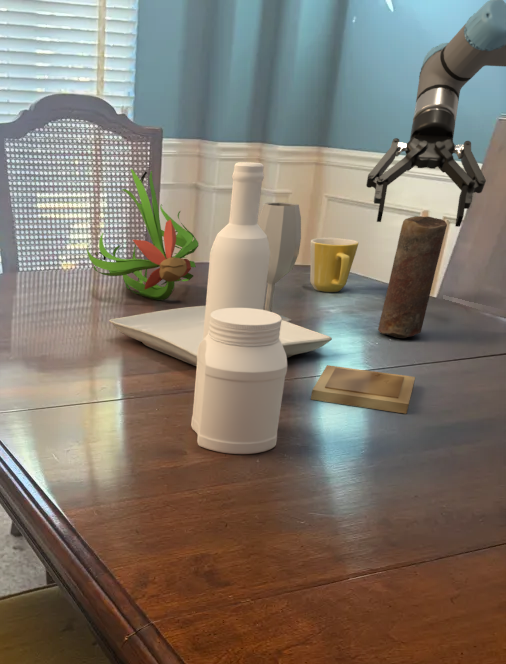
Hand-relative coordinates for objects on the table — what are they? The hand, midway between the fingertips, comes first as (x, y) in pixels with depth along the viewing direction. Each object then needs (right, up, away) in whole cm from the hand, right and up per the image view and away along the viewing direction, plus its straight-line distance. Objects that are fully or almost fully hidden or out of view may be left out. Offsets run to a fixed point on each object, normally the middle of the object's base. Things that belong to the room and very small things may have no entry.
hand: (419, 219), depth 139 cm
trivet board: (-19, -36, -27) cm, 49 cm away
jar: (-41, -45, -42) cm, 74 cm away
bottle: (-40, -37, -28) cm, 61 cm away
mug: (-6, -2, +34) cm, 35 cm away
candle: (-3, -21, +2) cm, 21 cm away
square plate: (-38, -25, -7) cm, 46 cm away
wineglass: (-26, -17, +8) cm, 32 cm away
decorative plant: (-47, -5, +27) cm, 54 cm away
